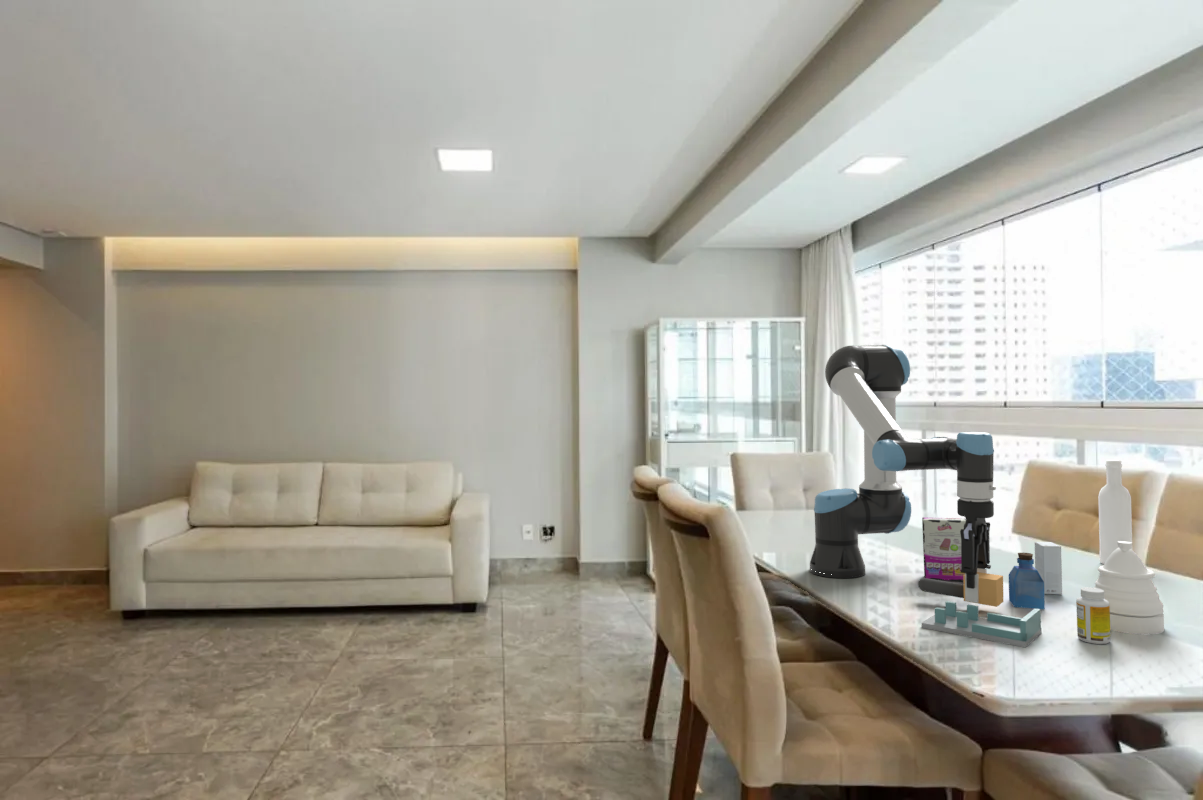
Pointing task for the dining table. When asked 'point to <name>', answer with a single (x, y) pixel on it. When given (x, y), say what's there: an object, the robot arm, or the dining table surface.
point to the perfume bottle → (1026, 584)
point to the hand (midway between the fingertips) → (976, 598)
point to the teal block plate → (986, 625)
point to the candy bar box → (942, 548)
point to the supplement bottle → (1093, 616)
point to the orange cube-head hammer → (987, 588)
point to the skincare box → (1049, 566)
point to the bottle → (1113, 511)
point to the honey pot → (1130, 593)
